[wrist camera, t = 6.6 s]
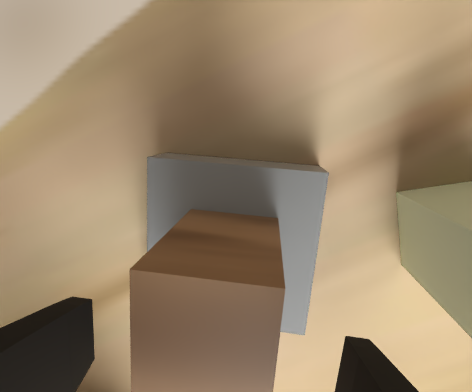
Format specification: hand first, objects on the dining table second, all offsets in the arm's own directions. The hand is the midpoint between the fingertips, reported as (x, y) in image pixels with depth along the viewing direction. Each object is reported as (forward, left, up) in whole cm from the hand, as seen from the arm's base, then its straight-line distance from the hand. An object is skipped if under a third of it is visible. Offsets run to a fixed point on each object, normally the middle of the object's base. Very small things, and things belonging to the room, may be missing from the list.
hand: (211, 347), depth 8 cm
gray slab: (0, 0, -9) cm, 9 cm away
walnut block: (0, 0, -6) cm, 6 cm away
